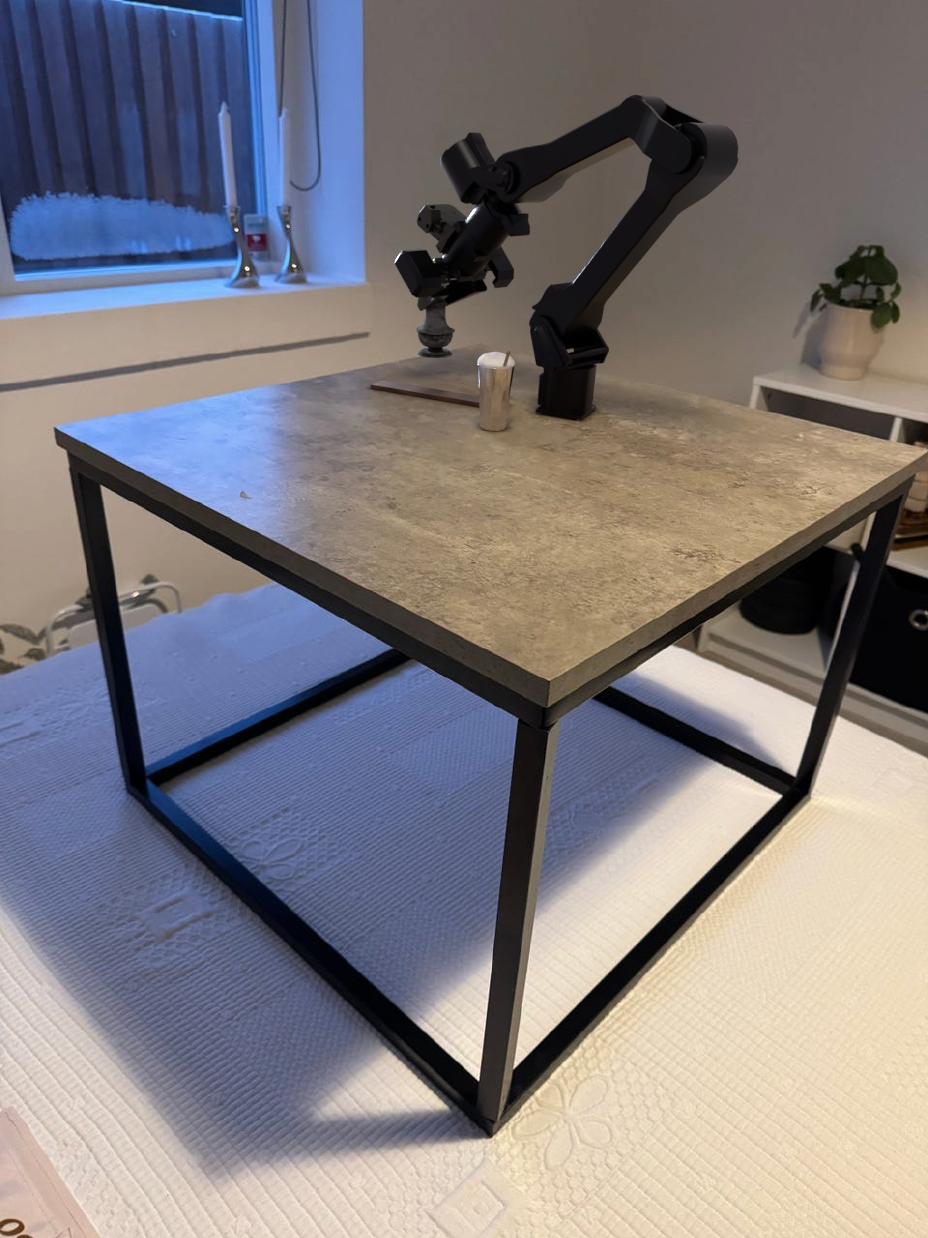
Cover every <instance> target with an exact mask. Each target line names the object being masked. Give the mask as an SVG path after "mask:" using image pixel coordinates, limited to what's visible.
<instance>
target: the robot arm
mask: <svg viewBox="0 0 928 1238" xmlns="http://www.w3.org/2000/svg"><path fill="white" fill-rule="evenodd" d="M634 145H636V146H637V147H638V148H639V150H640V151H641V152H642V154H643V155H645V156H646V157H648V158H649V159H650V162H649V165H648V170H647V174H646V180H645V185H644V188H643V189H642V191H641V193H640V194H639V196H638V197H637V198H636V199H635V200H634V202H633V203H632V205H631V206H630V207H629V208H628V210H627V211H626V212H625V214H624V215H623V216H622V218H621V219H619V220H620V221H619V222H618V223H617V224H616V225H615V227H614V228H613V229H612V231H611V232H610V233H609V234H608V236H607V237H606V239H604V241H603V243H602V244H601V245H600V246H599V248H598V249H597V250H596V252H595V253H594V254H593V256H592V257H591V259H589V261H588V262H587V264H586V265H585V266H584V267H583V269H581V271H580V273H579V274H578V275H577V277H576V278H575V279H574V280H573V281H568V282H559V283H553V284H550V285H549V286H547V288H546V289H545V290H544V293H543V295H542V296H541V298H540V299H539V301H538V302H537V303H535V304H533V305H532V306H531V309H532V310H534V311H533V312H532V313H531V316H530V318H529V321H528V326H529V335H530V339H531V345H532V350H533V356H534V362H535V366H537V367H540V368H543V370H542V372H541V373H540V374H539V376H538V389H537V405H538V406H537V407H536V408H535V413H538V414H542V415H548V416H553V417H554V416H555V417H561V418H567V419H573V420H579V421H580V420H583V419H585V417H587V416H588V415H590V414H592V412H594V411H595V410H597V404H593V402H594V393H595V384H596V376H597V375H596V374H597V365H599V364H601V365H602V364H604V363H605V361H606V359H607V357H608V354H609V352H610V348H609V346H608V344H607V342H606V341H605V338H604V337H603V335H602V334H601V332H600V330H599V326H600V325H601V323H602V322H603V317H604V310H605V306H606V304H607V302H608V300H609V299H610V298H611V297H612V296H613V294H614V293H615V292H616V291H617V289H618V288H619V287H620V286H621V285H622V284H623V282H624V281H625V280H626V278H627V277H629V275H630V274H631V272H632V271H633V270H634V269H635V267H636V266H637V265H638V264H639V263H640V262H641V260H642V259H643V258H644V257H645V256H646V255H647V253H648V252H649V251H650V250H651V248H652V247H653V246H654V245H655V243H656V242H657V241H658V240H659V239H660V238H661V236H662V235H663V234H664V232H665V231H666V230H667V229H668V228H669V226H671V224H672V223H673V221H674V220H675V219H676V218H677V216H679V215H680V214H681V213H682V212H684V211H685V210H687V209H689V208H690V207H692V206H694V205H695V204H696V203H698V202H700V201H701V200H703V199H704V198H706V197H707V196H709V195H710V194H711V193H713V192H714V191H715V190H716V189H717V188H718V187H719V186H720V185H722V183H724V182H725V181H726V180H727V179H728V178H729V177H730V176H731V175H732V174H733V172H734V171H735V169H736V168H737V165H738V162H739V157H738V156H739V144H738V138H737V136H736V135H735V132H734V131H733V130H732V129H731V128H730V127H728V126H727V125H724V124H721V123H709V122H708V123H707V122H705V121H703V120H701V119H699V118H697V117H695V116H692V115H690V114H688V113H686V112H684V111H683V110H680V109H678V108H676V107H674V106H672V105H671V104H670V103H668V102H667V101H665V100H664V99H662V98H661V97H660V96H655V95H646V94H632V95H630V96H629V95H628V97H626V98H625V99H624V100H622V101H621V103H619V104H618V105H616V106H615V107H612V108H610V109H608V110H607V111H605V112H603V113H600V115H597V116H596V117H594V118H592V119H590V120H588V121H586V122H584V123H583V124H580V125H579V126H577V127H575V128H573V129H572V130H570V131H568V132H565V133H564V134H562V135H560V136H559V137H557V138H555V139H553V140H552V141H549V142H545V143H542V144H536V145H530V146H525V147H521V148H517V149H513V150H509V151H506V152H503V153H501V154H500V156H498V158H497V159H495V158H494V157H493V155H492V153H491V151H490V150H489V148H488V146H487V143H486V140H485V138H484V136H483V134H482V133H481V132H470V131H469V132H468V133H467V134H466V136H465V138H462V139H460V140H458V141H456V142H454V144H451V146H450V147H449V148H446V149H445V150H444V151H443V153H442V154H441V157H440V160H439V164H440V167H441V169H442V171H443V172H444V174H445V176H446V178H447V180H448V181H449V183H450V185H451V186H452V189H453V190H454V192H455V194H456V195H457V198H458V199H459V201H460V202H461V203H463V204H466V205H467V204H471V205H473V206H474V208H473V209H472V211H471V212H470V214H469V215H468V216H466V215H465V214H464V213H463V212H462V211H460V210H459V209H458V208H457V207H456V206H454V205H452V204H450V203H449V204H448V203H437V204H424V206H423V207H422V208H421V209H420V210H419V212H418V215H417V219H416V224H417V227H418V228H420V229H421V230H422V231H423V233H425V234H429V235H431V236H432V237H433V238H434V239H435V240H436V241H438V242H437V243H436V244H435V248H436V250H437V251H438V253H439V254H442V256H441V257H434V258H433V259H432V257H431V256H430V253H429V252H428V250H427V249H422V248H416V249H403V250H401V251H400V253H399V254H398V256H397V257H396V259H395V261H394V265H395V267H396V269H397V271H398V273H399V275H400V276H401V278H402V280H403V282H404V284H405V285H406V288H407V289H408V291H409V293H410V295H411V296H413V297H415V298H417V304H416V306H417V308H418V310H419V311H420V312H423V311H426V309H427V308H429V307H430V306H432V305H434V304H435V303H437V302H439V301H440V300H442V299H444V298H445V301H446V302H447V303H448V304H447V305H446V307H448V306H451V305H454V304H455V303H458V302H460V301H463V300H465V299H469V298H471V297H474V296H476V295H479V294H481V293H485V292H487V291H488V286H487V284H486V283H485V280H486V276H487V274H488V272H492V274H493V276H494V279H493V280H492V281H491V284H492V286H493V288H494V289H500V288H508V286H509V285H510V284H511V283H512V282H513V280H514V279H515V268H514V267H513V264H512V263H511V261H510V259H509V257H508V255H507V254H506V252H505V250H504V249H503V247H502V245H503V244H504V243H505V242H506V240H507V239H508V238H509V237H510V238H511V237H512V238H513V237H526V236H530V234H531V224H530V222H529V217H530V216H529V213H528V212H523V211H522V209H521V207H520V206H519V204H537V203H543V202H545V201H547V200H548V199H549V198H551V197H553V195H555V194H556V193H557V192H558V191H560V190H561V189H562V188H563V187H564V185H565V184H566V182H567V181H568V180H569V178H571V177H572V176H574V175H575V174H577V173H579V172H581V171H583V170H585V169H587V168H589V167H591V166H593V165H595V164H598V163H599V162H602V161H603V160H606V159H609V157H612V156H614V155H616V154H618V153H620V152H623V151H625V150H626V149H628V148H630V147H632V146H634ZM568 350H573V351H570V352H569V351H568Z"/></svg>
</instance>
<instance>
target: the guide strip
mask: <svg viewBox="0 0 928 1238" xmlns="http://www.w3.org/2000/svg"><path fill="white" fill-rule="evenodd" d="M370 389H372V390H377V391H385V392H389V393H394V394H400V395H401V394H402V395H408V396H413V397H419V398H424V399H431V400H436V401H441V402H442V401H443V402H447V403H453V404H459V405H464V406H465V405H466V406H471V407H477V408H480V406H479V395H475V394H469V393H463V392H455V391H451V390H444V389H438V388H432V387H427V386H420V385H414V384H409V383H403V382H402V383H401V382H395V381H390V380H384V379H380V380H378V381H375V382H373V383H370Z"/></svg>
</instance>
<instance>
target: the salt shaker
mask: <svg viewBox="0 0 928 1238" xmlns="http://www.w3.org/2000/svg"><path fill="white" fill-rule="evenodd" d="M447 304H448V303H447V302H446V301H445V298H444V299H442V300H440V301H439V302H437V303H435V304H434V305H432V306H430V307H429V308H427V309H425V317H424V321H423V324H422V325H421V326H418V327H416V328H415V331H416V332H417V337H418V340H419V343H421V345H422V346H424V348H422V349H421V348H420V350H419V351H417V355H418V356H420V357H422V358H431V359H441V358H449V357H452V356H453V355H454V354H453V352H452V351H451V350H450V349H448V348H445V347H447V346H449V344H451V342H452V340H453V337H454V333H455V332H456V329H455V328H453V327H451V326H449V325H448V323H447V318H446V307H447V306H446V305H447Z"/></svg>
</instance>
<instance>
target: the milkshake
mask: <svg viewBox="0 0 928 1238" xmlns="http://www.w3.org/2000/svg"><path fill="white" fill-rule="evenodd" d="M510 354H511V351H509V350H508V351H507V350H506V353H504V352H500V351H491V352H485V353H482V354H481V355H480V356H479V357H478V358H477V362H476V363H477V377H478V379H477V380H478V396H479V406H480V407H479V427H480V428H481V429H482V430H485V431H490V432H500V431H504V430H505V429H507V423H508V417H509V408H510V400H511V392H512V385H513V381H514V373H515V366H516V361H515V360H514V358H513V357H512V356H511V355H510Z"/></svg>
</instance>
